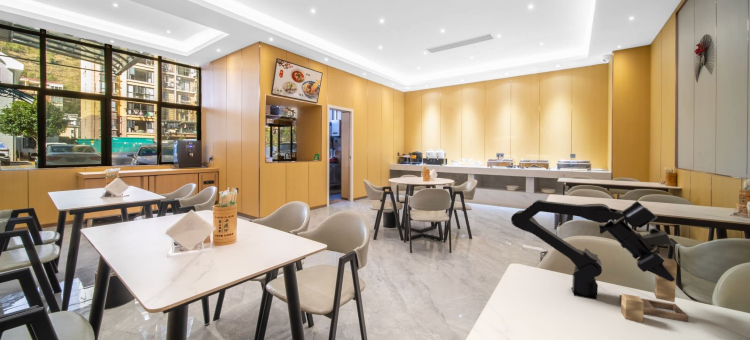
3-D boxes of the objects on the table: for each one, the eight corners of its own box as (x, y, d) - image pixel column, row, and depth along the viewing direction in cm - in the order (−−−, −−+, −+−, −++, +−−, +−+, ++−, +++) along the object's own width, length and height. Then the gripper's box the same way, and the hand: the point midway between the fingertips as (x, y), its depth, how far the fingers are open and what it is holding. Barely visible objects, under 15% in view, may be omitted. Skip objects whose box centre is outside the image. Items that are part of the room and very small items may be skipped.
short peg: (625, 319, 88) (626, 299, 87) (621, 312, 91) (621, 293, 91) (642, 322, 86) (643, 302, 86) (637, 315, 90) (638, 296, 89)
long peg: (656, 298, 91) (658, 260, 90) (654, 293, 94) (656, 256, 93) (674, 302, 89) (677, 263, 88) (671, 297, 92) (674, 259, 91)
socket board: (627, 310, 92) (627, 305, 92) (619, 299, 99) (619, 294, 99) (688, 321, 86) (688, 316, 86) (675, 308, 93) (675, 303, 93)
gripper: (655, 227, 85) (709, 274, 79) (646, 216, 100) (691, 255, 94) (618, 249, 90) (667, 294, 84) (615, 235, 105) (656, 273, 99)
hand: (671, 278), depth 90 cm, fingers closed on long peg, 4 cm apart
